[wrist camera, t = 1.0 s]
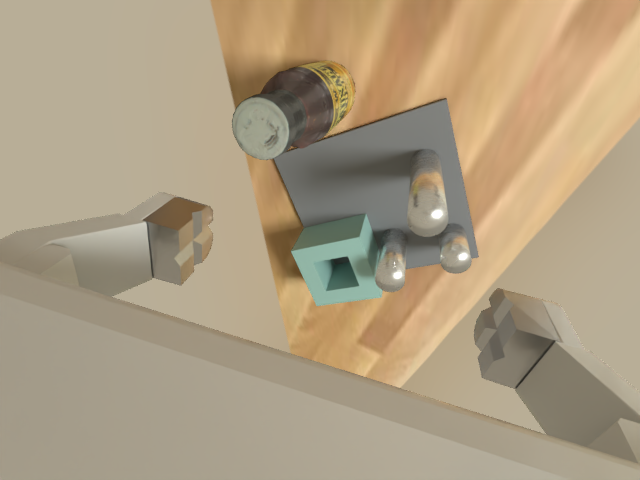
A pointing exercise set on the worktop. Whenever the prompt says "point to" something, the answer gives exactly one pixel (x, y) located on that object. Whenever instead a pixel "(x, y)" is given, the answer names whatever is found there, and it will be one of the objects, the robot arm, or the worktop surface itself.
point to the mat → (378, 177)
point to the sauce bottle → (294, 109)
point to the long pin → (426, 195)
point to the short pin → (454, 249)
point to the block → (336, 242)
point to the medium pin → (392, 261)
